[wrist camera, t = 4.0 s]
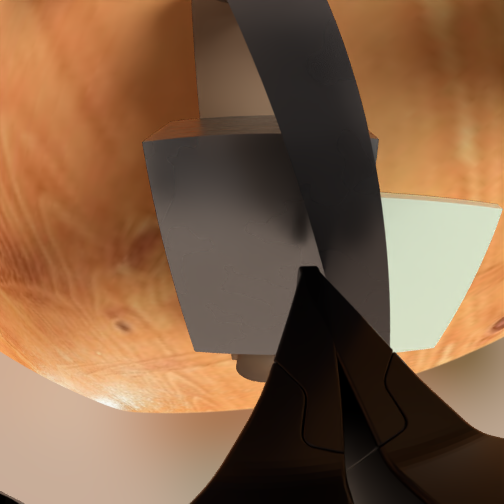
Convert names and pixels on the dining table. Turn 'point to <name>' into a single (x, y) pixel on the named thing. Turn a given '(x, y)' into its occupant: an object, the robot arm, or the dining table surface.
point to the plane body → (228, 100)
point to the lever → (324, 143)
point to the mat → (431, 261)
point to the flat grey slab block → (231, 228)
